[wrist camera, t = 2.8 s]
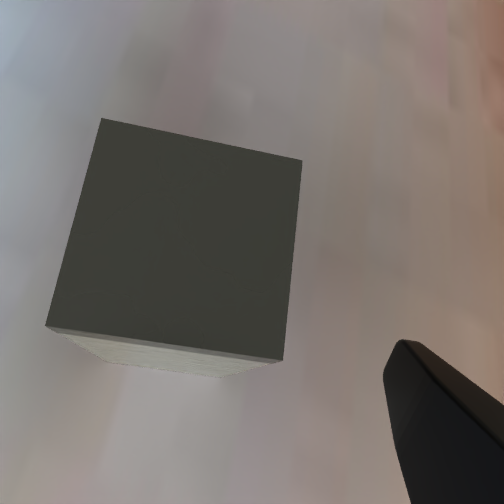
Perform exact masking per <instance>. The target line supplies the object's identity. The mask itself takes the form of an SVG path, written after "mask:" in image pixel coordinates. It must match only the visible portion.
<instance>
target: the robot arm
mask: <svg viewBox="0 0 504 504" xmlns="http://www.w3.org/2000/svg"><path fill="white" fill-rule="evenodd" d="M383 383H384V388H385V394H386V400H387V406H388V411H389V417H390V423H391V428H392V434H393V439H394V444H395V449H396V452H397V456H398V460H399V463H400V467H401V470H402V474H403V477H404V481H405V484H406V488H407V491H408V495H409V498H410V502H411V504H504V405H503V404H501V403H500V402H499V401H497V400H496V399H495V398H493V397H492V396H491V395H489V394H488V393H487V392H485V391H484V390H483V389H481V388H480V387H479V386H477V385H476V384H475V383H473V382H472V381H471V380H469V379H468V378H467V377H465V376H464V375H463V374H461V373H460V372H459V371H457V370H456V369H455V368H453V367H452V366H451V365H449V364H448V363H447V362H445V361H444V360H443V359H441V358H440V357H439V356H437V355H436V354H435V353H433V352H432V351H431V350H429V349H428V348H427V347H425V346H424V345H423V344H421V343H420V342H417V341H411V340H404V339H401V340H399V341H398V342H397V343H396V345H395V347H394V349H393V351H392V353H391V355H390V357H389V359H388V362H387V364H386V366H385V368H384V372H383Z"/></svg>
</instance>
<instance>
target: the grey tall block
mask: <svg viewBox="0 0 504 504" xmlns="http://www.w3.org/2000/svg"><path fill="white" fill-rule="evenodd" d="M301 171H302V160H297V159H293V158H288V157H283V156H278V155H274V154H269V153H264V152H260V151H255V150H250V149H245V148H241V147H236V146H231V145H226V144H222V143H217V142H212V141H208V140H203V139H198V138H193V137H189V136H184V135H179V134H175V133H170V132H165V131H160V130H156V129H151V128H146V127H142V126H137V125H132V124H127V123H123V122H118V121H113V120H109V119H104V118H101V122H100V125H99V129H98V133H97V136H96V140H95V144H94V147H93V151H92V155H91V158H90V162H89V166H88V170H87V173H86V177H85V181H84V184H83V188H82V192H81V195H80V199H79V203H78V206H77V210H76V214H75V217H74V221H73V225H72V228H71V232H70V236H69V240H68V243H67V247H66V251H65V254H64V258H63V262H62V265H61V269H60V273H59V276H58V280H57V284H56V287H55V291H54V295H53V298H52V302H51V306H50V310H49V313H48V317H47V321H46V324H45V326H46V327H48V328H49V329H51V330H53V331H54V332H56V333H58V334H60V335H61V336H63V337H65V338H66V339H68V340H70V341H72V342H73V343H75V344H77V345H78V346H80V347H82V348H84V349H85V350H87V351H89V352H90V353H92V354H94V355H96V356H97V357H99V358H101V359H103V360H104V361H106V362H110V363H117V364H124V365H131V366H139V367H146V368H153V369H160V370H168V371H175V372H182V373H190V374H197V375H204V376H211V377H219V378H221V377H225V376H229V375H232V374H236V373H240V372H243V371H247V370H251V369H254V368H258V367H262V366H265V365H269V364H273V363H276V362H280V361H283V353H284V343H285V333H286V323H287V313H288V302H289V292H290V282H291V272H292V262H293V252H294V242H295V232H296V222H297V211H298V201H299V191H300V181H301Z"/></svg>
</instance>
